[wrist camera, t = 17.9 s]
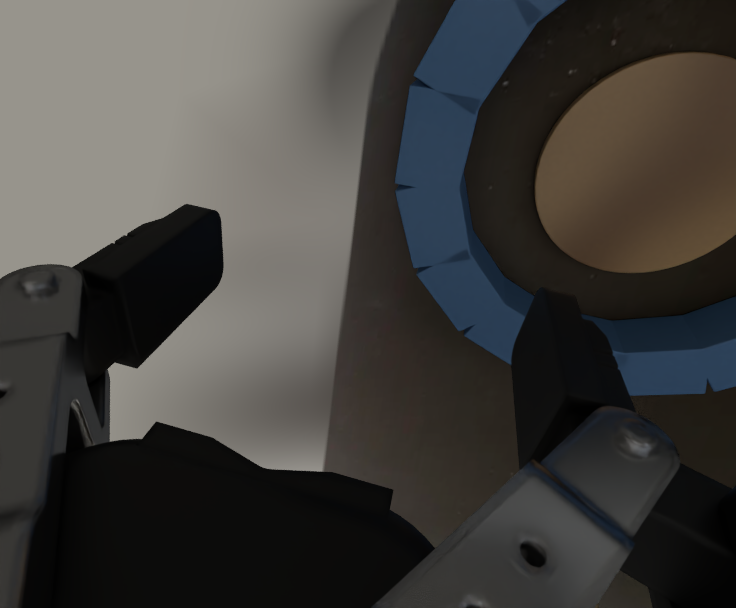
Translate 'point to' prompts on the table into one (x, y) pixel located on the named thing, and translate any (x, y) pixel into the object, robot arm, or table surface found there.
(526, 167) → the table surface
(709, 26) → the table surface
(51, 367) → the robot arm
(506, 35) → the hoop
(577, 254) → the cork coaster
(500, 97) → the table surface
